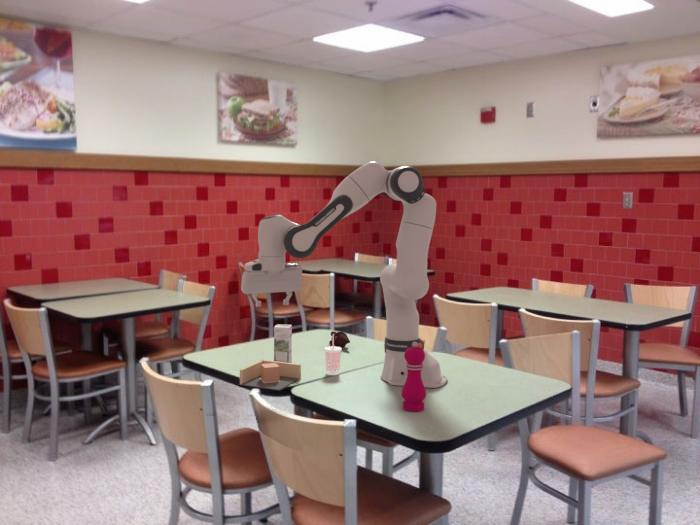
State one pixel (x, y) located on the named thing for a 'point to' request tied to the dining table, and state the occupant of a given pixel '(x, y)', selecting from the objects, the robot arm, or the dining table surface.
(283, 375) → the arena
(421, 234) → the robot arm
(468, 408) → the dining table surface
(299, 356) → the dining table surface
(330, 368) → the beverage cup
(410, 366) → the pepper mill
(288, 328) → the syrup box
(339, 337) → the brown gnome figurine
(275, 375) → the cube
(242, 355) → the dining table surface
